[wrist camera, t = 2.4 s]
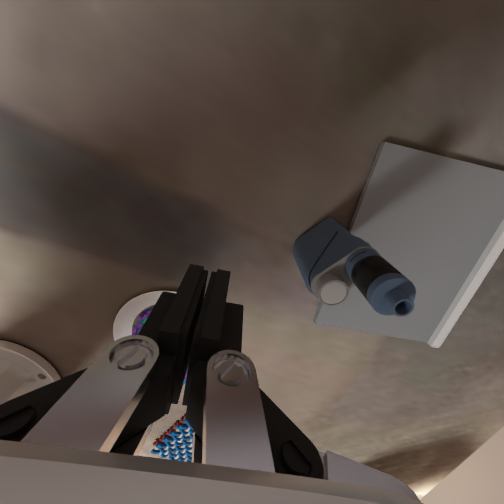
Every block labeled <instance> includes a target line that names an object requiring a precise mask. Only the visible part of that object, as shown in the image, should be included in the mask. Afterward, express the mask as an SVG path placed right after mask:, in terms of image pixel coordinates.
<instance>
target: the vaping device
mask: <svg viewBox="0 0 504 504" xmlns="http://www.w3.org/2000/svg"><path fill="white" fill-rule="evenodd" d="M293 255H294V257H295V260H296V262H297V265H298V267H299V269H300V272H301V274H302V277H303V279H304V281H305V284H306V286H307V288H308V289H309V291H310V292H311V293H312V294H313V295H315V296H316V297H317V298H319V300H320V301H321V302H322V303H323V304H325V305H327V306H336V305H339V304H341V303H343V302H344V301H345V300H346V299H347V297H348V294H349V290H350V289H352V288H353V287H355V286H356V287H357V288H358V289H359V291H360V292H361V293H362V295H363V296H364V297H365V299H366V300H367V301H368V302H369V304H370V305H371V306H372V308H373V309H374V310H375V311H376V312H377V313H379V314H382V315H396V316H399V317H403V316H407V315H408V314H410V313H411V312H412V311H413V309H414V302H413V301H414V299H415V296H416V289H415V286H414V284H413V283H412V282H411V281H410V280H409V279H407V278H406V277H405V276H404V275H402V273H400V272H399V271H398V270H397V269H396V268H395V267H393V266H392V265H391V264H390V263H389V262H388V261H386V260H385V259H384V258H383V257H382V256H380V254H379V253H378V252H377V251H376V250H375V249H374V248H372V247H371V245H370V244H369V243H368V242H365V241H364V240H363V239H361V238H359V237H356V236H354V235H352V234H351V233H350V232H348V231H347V230H346V229H345V228H344V227H343V226H342V225H341V224H339V223H338V222H337V221H336V220H335V219H334V218H333V217H329V218H326V219H325V220H323V221H322V222H321V223H319V224H318V225H316V226H315V227H314V228H312V229H311V230H309V231H308V232H307V233H305V234H304V235H302V236H301V237H300V238H298V239H297V240H296V241H295V243H294V247H293Z"/></svg>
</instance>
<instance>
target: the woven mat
mask: <svg viewBox="0 0 504 504" xmlns="http://www.w3.org/2000/svg"><path fill="white" fill-rule="evenodd" d="M185 417H186V415H185V416H184V418H183V419H181V420H180V422H177V423H175V424H174V425H173V428H171V429H170V431H169V430H168V431H167V432H166V434H164V435H163V437H160V439H159V440H157V441H155V442H153V445H155V449H157V450H154V449H153V450H152V451H151V453H153V454H158V453H159V454H158V456H161V457H160V458H167V459H168V458H169V459H170V460H176V461H184V462H192V448H193V435H194V430H193V429H192V427H191V426H190V424H189V423H188V421H187V420H186V418H185ZM185 424H187V425H185ZM164 442H165V443H164Z"/></svg>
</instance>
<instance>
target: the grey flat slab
mask: <svg viewBox="0 0 504 504" xmlns="http://www.w3.org/2000/svg"><path fill="white" fill-rule="evenodd" d="M348 232H350V233H351V234H352V235H354V236H356V237H359V238H361V239H363V240H364V241H365V242H368V243H369V244H370V245H371V247H372V248H374V249H375V250H376V251H377V252H378V253H379V254H380V256H382V257H383V258H384V259H385V260H386V261H388V262H389V263H390V264H391V265H392V266H393V267H395V268H396V269H397V270H398V271H399V272H400V273H402V275H404V276H405V277H406V278H407V279H409V280H410V281H411V282H412V283H413V284H414V286H415V289H416V296H415V299H414V301H413V302H414V309H413V311H412V312H411V313H410V314H408V315H407V316H403V317H399V316H396V315H382V314H379V313H377V312H376V311H375V310H374V309H373V308H372V306H371V305H370V304H369V302H368V301H367V300H366V299H365V297H364V296H363V295H362V293H361V292H360V291H359V289H358V288H357V287H356V286H355V287H353V288H352V289H350V290H349V294H348V297H347V299H346V300H345V301H344V302H343V303H341V304H339V305H336V306H327V305H325V304H323V303H322V302H320V305H319V308H318V310H317V313H316V315H315V318H314V323H315V324H317V325H323V326H330V327H336V328H342V329H348V330H354V331H360V332H366V333H372V334H378V335H384V336H390V337H397V338H403V339H409V340H415V341H421V342H427V343H428V344H429V345H430V346H431V347H437V348H440V346H441V344H442V343H443V341H444V340H445V338H446V337H447V335H448V334H449V332H450V331H451V329H452V327H453V326H454V324H455V323H456V321H457V320H458V318H459V317H460V315H461V314H462V312H463V310H464V309H465V307H466V306H467V304H468V303H469V301H470V300H471V298H472V296H473V295H474V293H475V292H476V290H477V289H478V287H479V286H480V284H481V283H482V281H483V279H484V278H485V276H486V275H487V273H488V272H489V270H490V269H491V267H492V266H493V264H494V262H495V261H496V259H497V258H498V256H499V255H500V253H501V252H502V250H503V249H504V171H501V170H497V169H493V168H489V167H485V166H481V165H477V164H473V163H469V162H465V161H461V160H457V159H452V158H448V157H444V156H440V155H436V154H432V153H428V152H424V151H420V150H416V149H412V148H408V147H404V146H400V145H396V144H392V143H388V142H381V144H380V147H379V149H378V152H377V155H376V157H375V160H374V163H373V165H372V168H371V170H370V173H369V176H368V178H367V181H366V184H365V186H364V189H363V192H362V194H361V197H360V199H359V202H358V205H357V207H356V210H355V213H354V215H353V218H352V221H351V223H350V226H349V228H348Z"/></svg>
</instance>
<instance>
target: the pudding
mask: <svg viewBox="0 0 504 504" xmlns="http://www.w3.org/2000/svg"><path fill="white" fill-rule="evenodd" d="M162 292H163V291H153V292H149V293H145V294H142V295H139V296H137V297H135V298H133V299H131V300H130V301H128V302H127V303H126V304H125V305H124V306H123V307H122V308H121V309H120V310H119V312H118V314H117V315H116V318H115V320H114V323H113V336H114V341H116V340H118V339H120V338H122V337H126V336H129V335H138V334H139V332H140V330H141V328H142V327H143V325H144V323H145V321H146V320H147V318H148V316H149V314H150V313H151V311H152V310H151V309H148V310H146V311H144V312H142V313H141V315H140V316H139V320H138V324H137V325H135V326H134V329H133V333H132V325H133V322H134V320H135V318H136V317H137V315H138V314H139V313H140V312H141V311H143V310H144V309H146V308H147V307H150V306H152V305H155V304H156V302H157V300H158V299H159V297H160V295H161V294H162ZM166 292H171V293H177V292H175V291H166ZM188 365H189V364H188ZM187 372H188V368H187V371H186V375H185V379H184V382H183V385H184V384H185V383H186V378H187Z"/></svg>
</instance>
